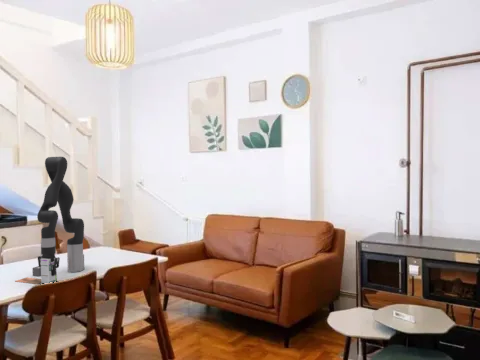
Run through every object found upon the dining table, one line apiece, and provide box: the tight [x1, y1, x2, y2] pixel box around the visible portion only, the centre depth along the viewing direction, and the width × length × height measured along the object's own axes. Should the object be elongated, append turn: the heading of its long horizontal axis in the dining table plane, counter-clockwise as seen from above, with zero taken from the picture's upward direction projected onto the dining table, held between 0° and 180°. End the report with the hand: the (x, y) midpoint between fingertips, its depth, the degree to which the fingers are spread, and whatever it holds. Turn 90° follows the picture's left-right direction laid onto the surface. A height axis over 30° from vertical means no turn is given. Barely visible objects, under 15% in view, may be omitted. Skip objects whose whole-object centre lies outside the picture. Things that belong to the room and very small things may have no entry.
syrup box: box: [40, 258, 58, 284], centre depth 222 cm, size 6×6×14 cm
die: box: [32, 265, 41, 278], centre depth 239 cm, size 5×5×5 cm
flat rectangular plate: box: [14, 276, 42, 285], centre depth 225 cm, size 8×25×1 cm, turn 70°
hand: (48, 275), depth 222 cm, fingers closed on syrup box, 6 cm apart
